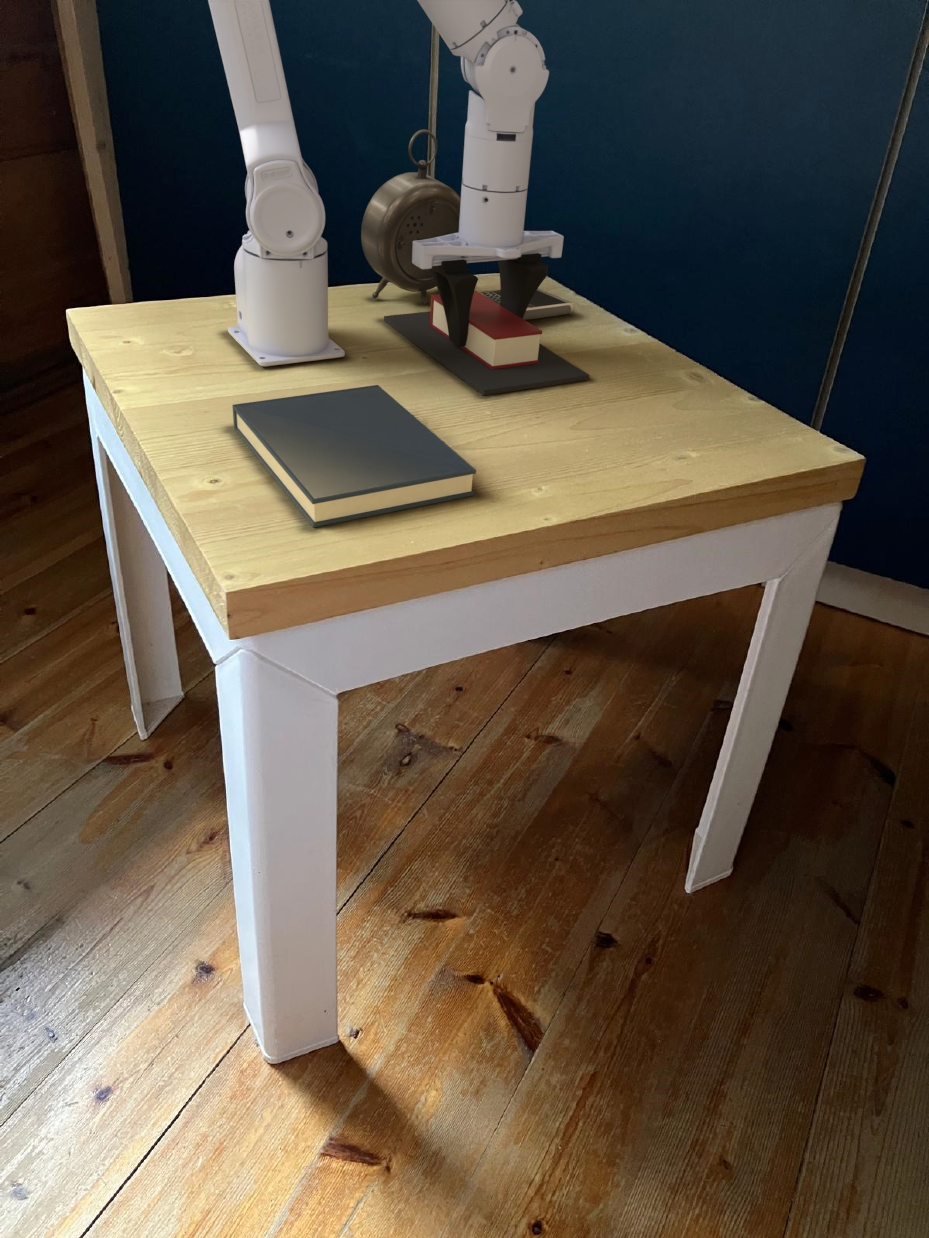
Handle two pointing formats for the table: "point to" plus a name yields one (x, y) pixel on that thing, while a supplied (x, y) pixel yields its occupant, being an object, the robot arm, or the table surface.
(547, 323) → the table surface
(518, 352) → the top book
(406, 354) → the table surface
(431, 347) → the mat
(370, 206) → the alarm clock
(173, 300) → the table surface
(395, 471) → the bottom book
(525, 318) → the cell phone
